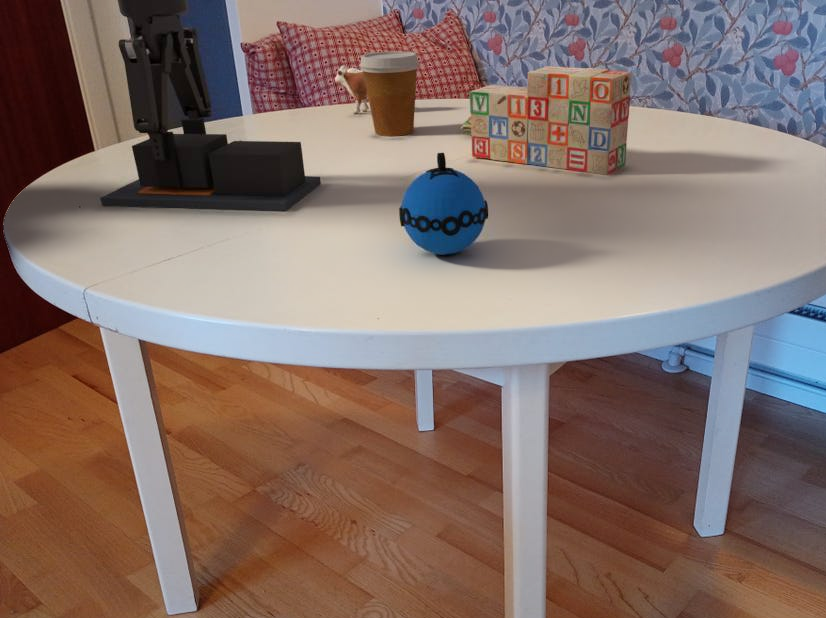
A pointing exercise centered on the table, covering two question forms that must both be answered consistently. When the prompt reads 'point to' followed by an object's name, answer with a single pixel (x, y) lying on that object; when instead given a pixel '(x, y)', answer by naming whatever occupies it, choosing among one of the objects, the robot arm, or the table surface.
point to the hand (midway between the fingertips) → (187, 177)
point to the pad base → (206, 201)
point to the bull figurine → (354, 85)
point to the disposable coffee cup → (391, 90)
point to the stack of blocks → (555, 119)
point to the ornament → (443, 210)
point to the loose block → (181, 159)
